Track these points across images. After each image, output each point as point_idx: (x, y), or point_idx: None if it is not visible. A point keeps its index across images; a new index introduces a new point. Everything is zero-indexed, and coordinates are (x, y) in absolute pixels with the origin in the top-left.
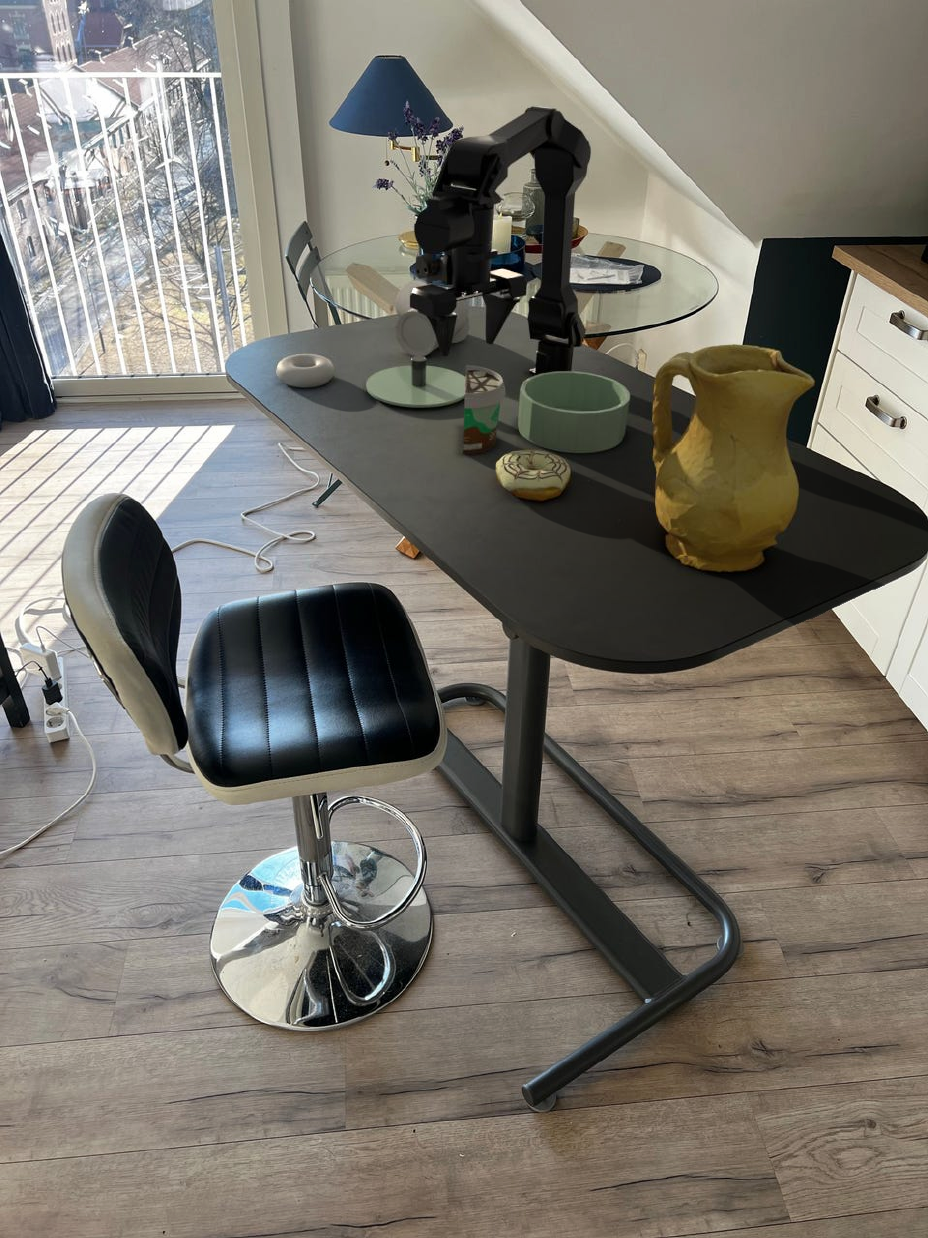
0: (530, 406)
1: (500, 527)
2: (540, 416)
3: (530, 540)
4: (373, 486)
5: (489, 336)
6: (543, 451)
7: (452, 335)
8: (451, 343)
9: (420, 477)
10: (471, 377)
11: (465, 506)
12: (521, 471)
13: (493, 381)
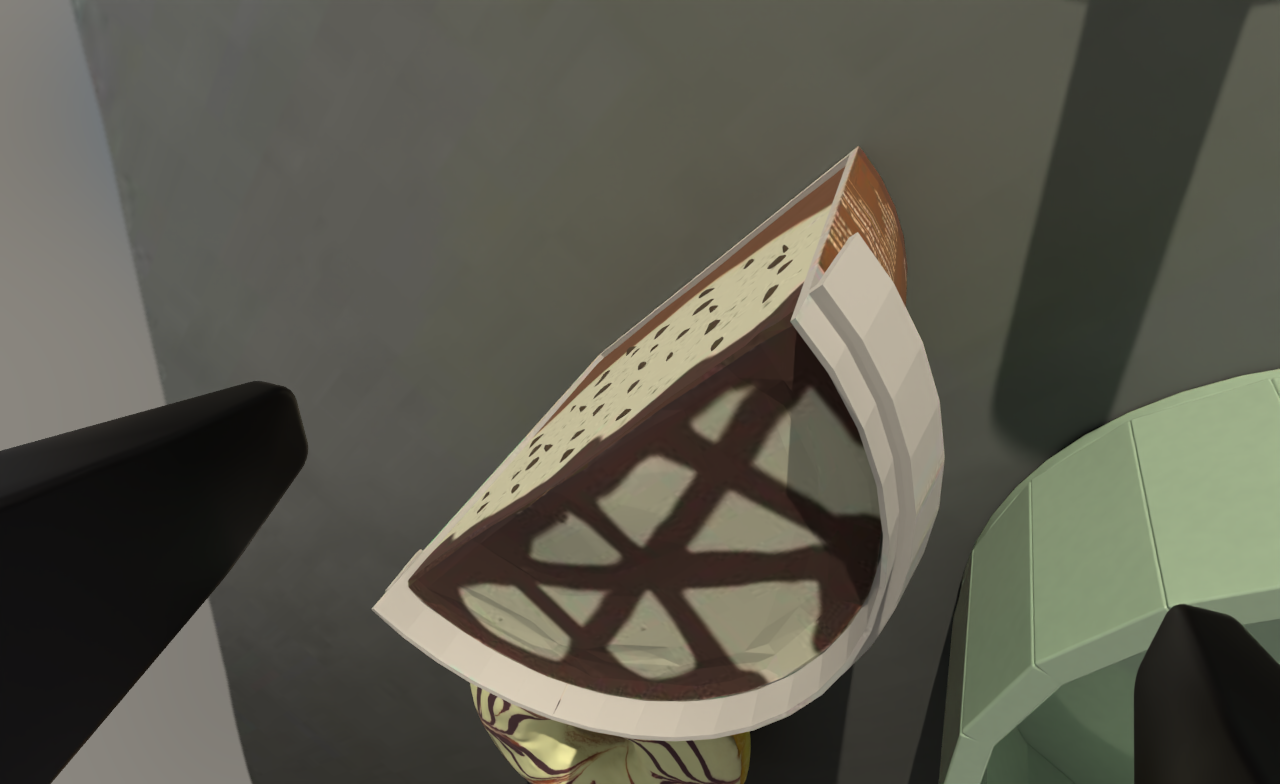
0: (970, 693)
1: (388, 671)
2: (946, 725)
3: (415, 740)
4: (160, 253)
5: (1163, 767)
6: (694, 757)
7: (47, 768)
8: (173, 634)
9: (333, 342)
10: (705, 435)
11: (367, 559)
12: (502, 735)
13: (785, 613)
